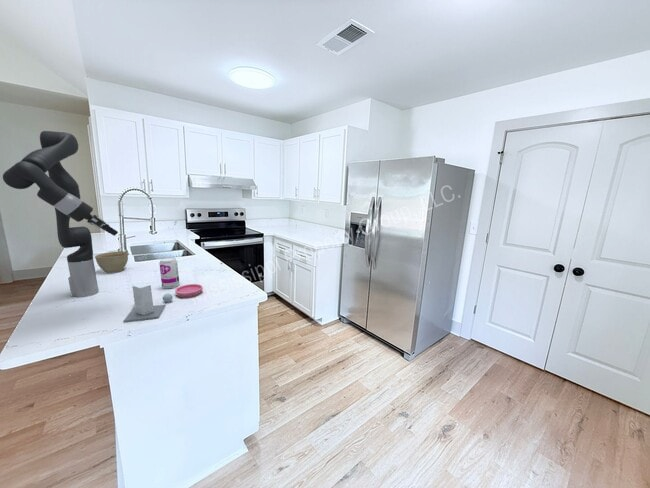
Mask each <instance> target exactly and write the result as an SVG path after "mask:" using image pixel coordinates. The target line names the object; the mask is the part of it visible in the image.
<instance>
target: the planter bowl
mask: <svg viewBox="0 0 650 488" xmlns="http://www.w3.org/2000/svg"><path fill="white" fill-rule="evenodd" d="M94 258H95V262H96V264H97V266H98V267H99V268H100V269H101V270H102V271H104V273H105V272H106V274H113V273H114V272H115V273H119V272H122V271H124V269H125V267H126V266H127V263H128V259H129V252H127V251H110V252H105V253H100V254H97V255H94Z"/></svg>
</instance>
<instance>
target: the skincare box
mask: <svg viewBox="0 0 650 488" xmlns="http://www.w3.org/2000/svg"><path fill="white" fill-rule="evenodd" d="M131 287H132V294H133V301H134V308H135V310H136V313H139V314H142V315H146V314H149V313H152V312H154V308H153V306H154V302H153V300H154V299H153V294H152V293H153V292H152V285H151V284H148V283H144V282H140V283H137V284H133V285H131Z"/></svg>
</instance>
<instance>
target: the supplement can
mask: <svg viewBox="0 0 650 488" xmlns="http://www.w3.org/2000/svg"><path fill="white" fill-rule="evenodd" d="M158 266H159V271H160V282H161V287H162V288H164V289H174V288H178V287H179V286H180V276H179V267H178V261H177V259H176V257H166V258H162V259H160V261H159V265H158Z"/></svg>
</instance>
